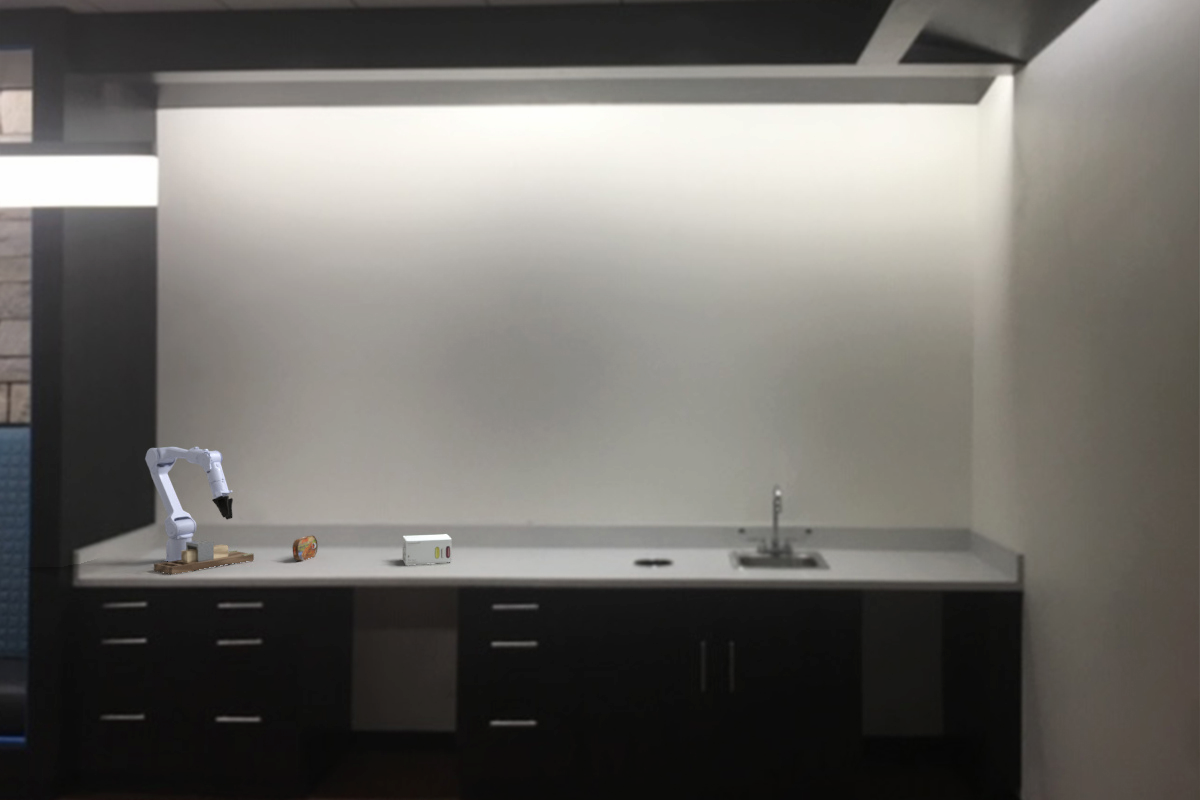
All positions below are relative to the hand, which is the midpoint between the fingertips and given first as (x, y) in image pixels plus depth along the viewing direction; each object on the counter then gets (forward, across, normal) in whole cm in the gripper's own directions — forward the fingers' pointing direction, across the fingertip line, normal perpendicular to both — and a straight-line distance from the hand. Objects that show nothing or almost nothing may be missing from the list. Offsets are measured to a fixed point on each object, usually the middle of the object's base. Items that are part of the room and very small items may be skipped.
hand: (227, 517), depth 354 cm
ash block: (+11, +6, +12) cm, 17 cm away
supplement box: (+39, -4, -62) cm, 74 cm away
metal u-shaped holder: (+11, +5, +14) cm, 18 cm away
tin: (+22, +12, -20) cm, 33 cm away
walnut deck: (+14, +6, +13) cm, 20 cm away
